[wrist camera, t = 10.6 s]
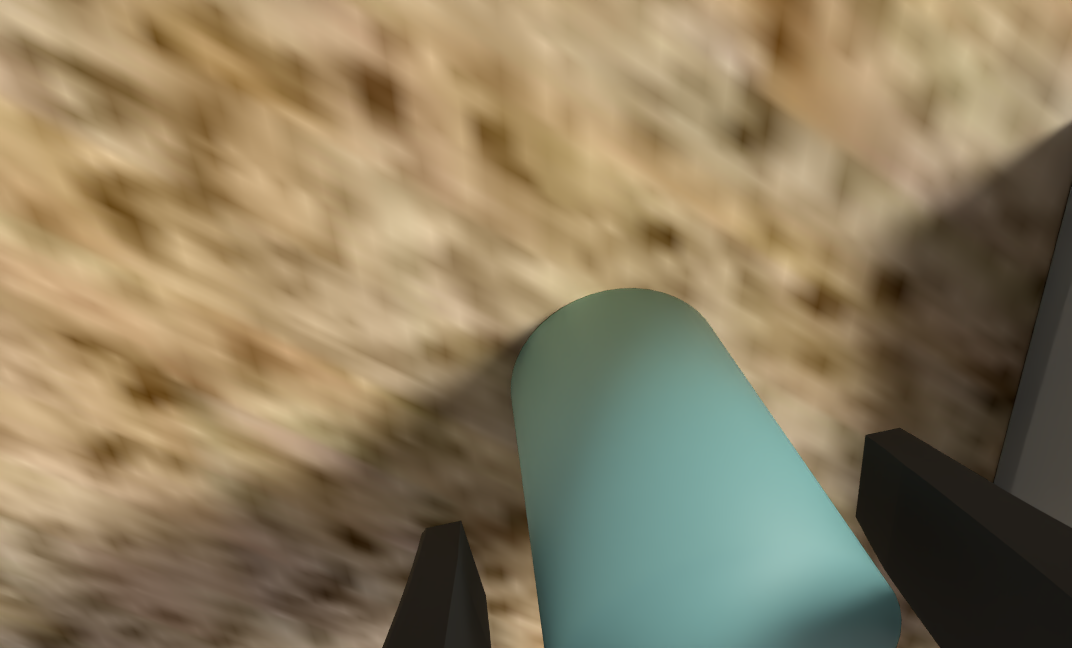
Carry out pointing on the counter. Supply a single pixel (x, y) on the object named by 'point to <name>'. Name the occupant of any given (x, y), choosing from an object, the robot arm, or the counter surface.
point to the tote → (1045, 398)
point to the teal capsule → (676, 494)
